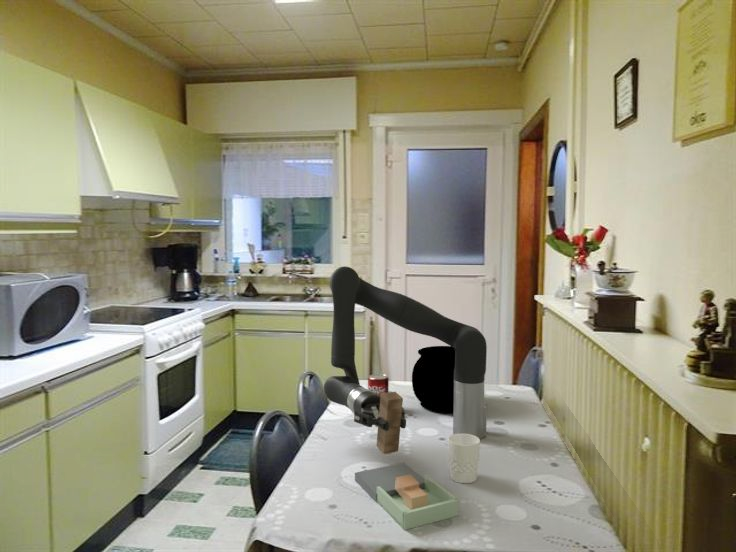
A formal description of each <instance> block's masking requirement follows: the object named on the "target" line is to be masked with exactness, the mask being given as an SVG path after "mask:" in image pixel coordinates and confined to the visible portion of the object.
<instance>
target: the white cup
mask: <svg viewBox="0 0 736 552" xmlns="http://www.w3.org/2000/svg"><path fill="white" fill-rule="evenodd" d="M447 442H448V446H447V447H448V463H449V475H450V479H451V480H452V481H453V482H456V483H458V484H459V483H460V484H471V483H475V482H476V481H477V480H478V469H479V464H480V463H479V461H480V447H481V446H480V445H481V440H480V439H479V438H478V437H476V436H474V435H470V434H454V435H453V434H451V435H450V436H448V438H447Z"/></svg>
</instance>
